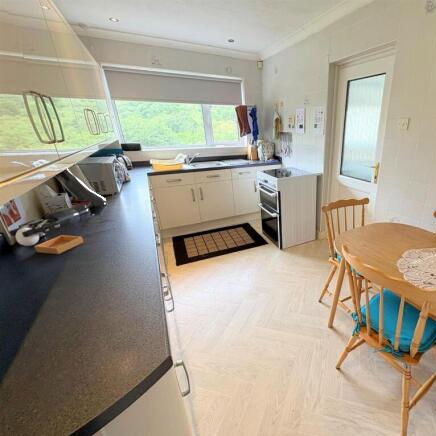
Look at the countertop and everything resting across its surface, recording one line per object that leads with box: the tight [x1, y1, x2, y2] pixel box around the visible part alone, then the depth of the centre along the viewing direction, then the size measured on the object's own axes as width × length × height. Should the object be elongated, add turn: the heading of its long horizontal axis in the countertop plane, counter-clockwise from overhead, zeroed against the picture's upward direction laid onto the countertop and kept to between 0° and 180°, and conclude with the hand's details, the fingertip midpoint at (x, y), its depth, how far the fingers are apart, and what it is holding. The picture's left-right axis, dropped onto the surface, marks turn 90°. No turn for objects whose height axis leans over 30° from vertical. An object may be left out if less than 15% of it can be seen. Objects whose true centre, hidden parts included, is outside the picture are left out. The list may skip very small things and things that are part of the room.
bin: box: [33, 234, 84, 255], centre depth 114 cm, size 12×12×4 cm
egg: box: [15, 227, 40, 247], centre depth 92 cm, size 6×6×8 cm
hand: (17, 234), depth 89 cm, fingers closed on egg, 5 cm apart
